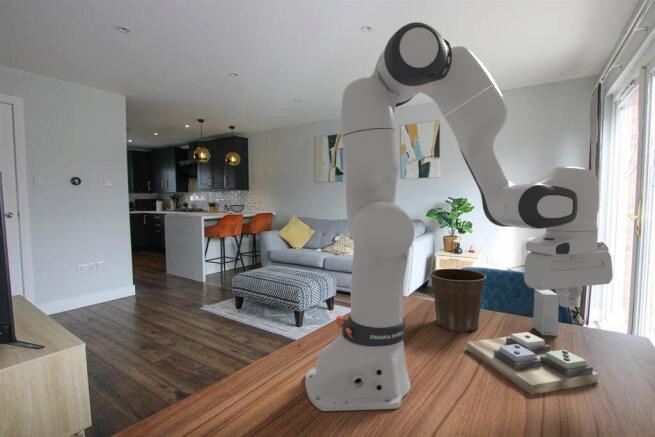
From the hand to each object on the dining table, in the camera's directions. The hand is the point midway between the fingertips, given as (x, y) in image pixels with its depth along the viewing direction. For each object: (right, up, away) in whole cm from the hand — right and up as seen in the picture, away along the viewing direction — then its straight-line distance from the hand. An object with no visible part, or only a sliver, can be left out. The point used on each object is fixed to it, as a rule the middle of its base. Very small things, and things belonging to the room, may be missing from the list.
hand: (568, 306), depth 70 cm
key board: (-5, -16, +6) cm, 18 cm away
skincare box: (+12, -15, +25) cm, 31 cm away
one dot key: (-2, -12, +11) cm, 16 cm away
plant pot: (-12, -14, +30) cm, 36 cm away
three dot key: (0, -13, +1) cm, 13 cm away
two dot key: (-9, -13, +4) cm, 16 cm away
